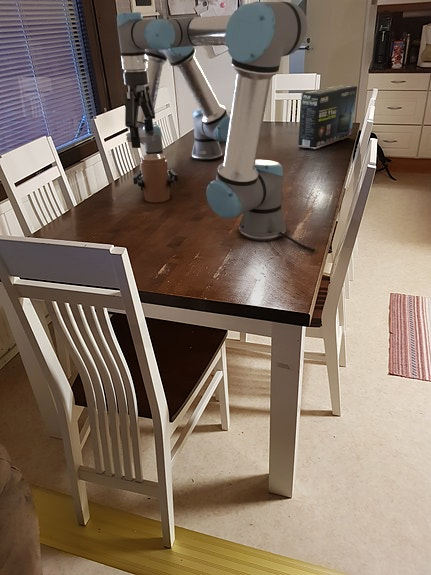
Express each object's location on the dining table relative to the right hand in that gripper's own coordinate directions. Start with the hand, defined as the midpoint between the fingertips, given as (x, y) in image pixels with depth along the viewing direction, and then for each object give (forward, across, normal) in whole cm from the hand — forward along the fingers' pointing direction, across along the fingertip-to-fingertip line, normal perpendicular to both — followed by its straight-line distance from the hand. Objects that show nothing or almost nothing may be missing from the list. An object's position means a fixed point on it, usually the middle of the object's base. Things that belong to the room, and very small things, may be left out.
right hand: (143, 143), depth 153 cm
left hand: (+19, +13, +3) cm, 24 cm away
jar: (+26, +17, +5) cm, 31 cm away
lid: (-3, 0, 0) cm, 3 cm away
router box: (+25, +113, -52) cm, 127 cm away
